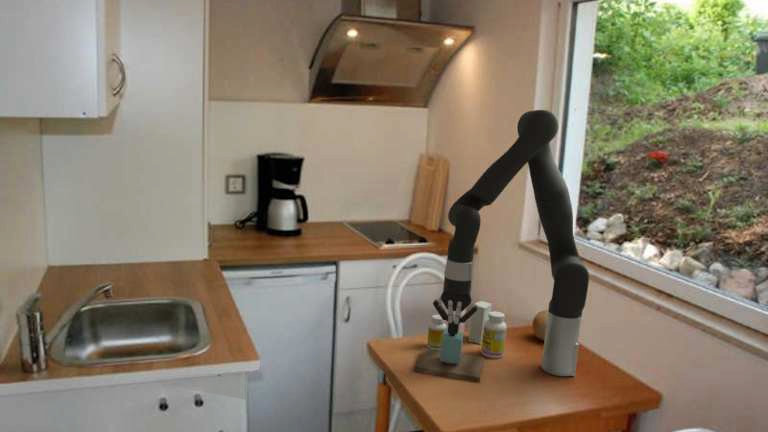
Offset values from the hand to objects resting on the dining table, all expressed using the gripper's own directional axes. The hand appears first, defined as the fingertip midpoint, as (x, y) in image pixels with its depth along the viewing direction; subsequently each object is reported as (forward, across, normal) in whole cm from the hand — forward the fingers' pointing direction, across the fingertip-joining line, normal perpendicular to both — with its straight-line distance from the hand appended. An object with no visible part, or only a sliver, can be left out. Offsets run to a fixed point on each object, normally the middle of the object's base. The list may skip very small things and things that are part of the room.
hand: (452, 334), depth 181 cm
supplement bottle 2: (+10, -11, -14) cm, 20 cm away
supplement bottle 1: (+10, +6, -13) cm, 17 cm away
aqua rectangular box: (+7, 0, 0) cm, 7 cm away
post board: (+10, 0, 0) cm, 10 cm away
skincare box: (+10, -6, -24) cm, 27 cm away
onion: (+10, -27, -33) cm, 44 cm away
